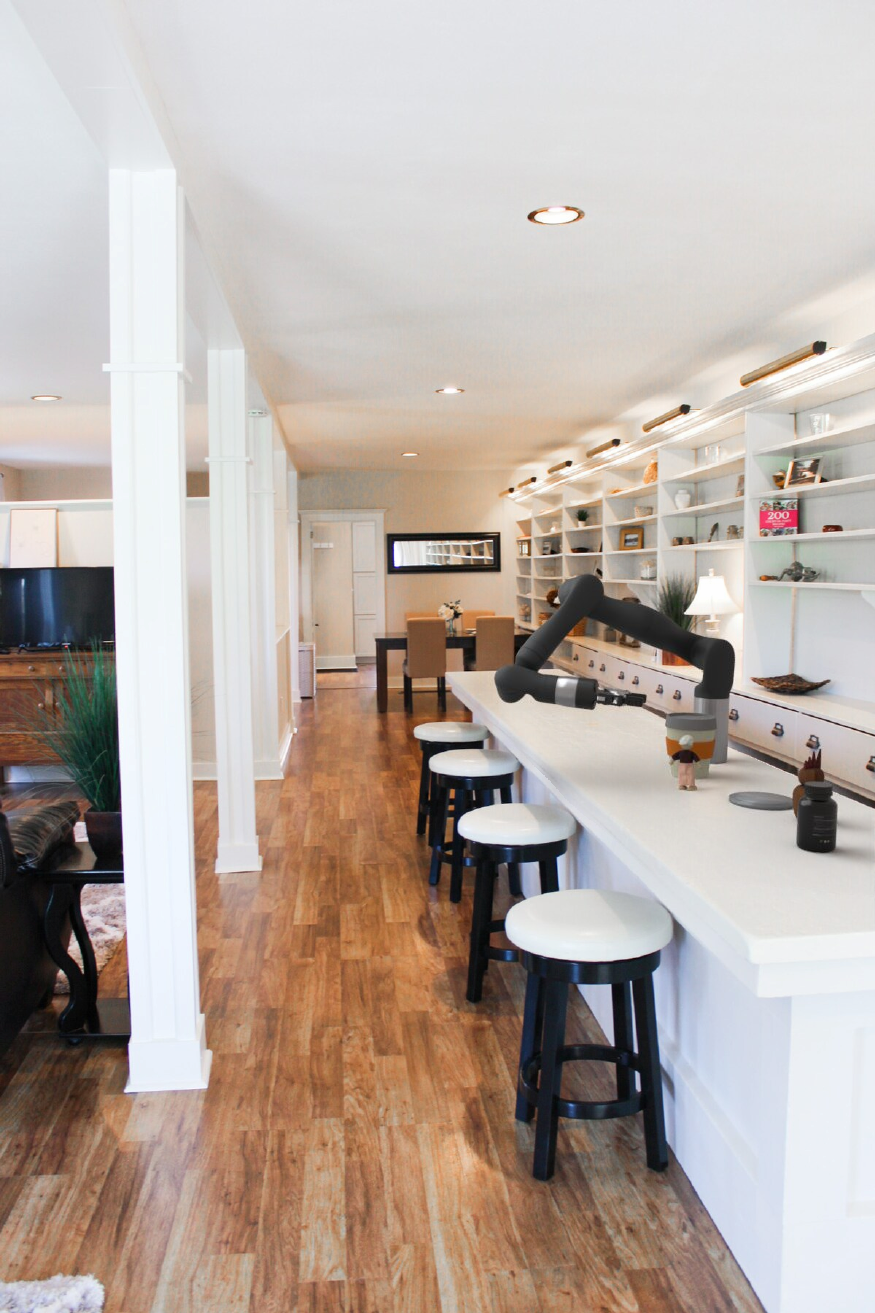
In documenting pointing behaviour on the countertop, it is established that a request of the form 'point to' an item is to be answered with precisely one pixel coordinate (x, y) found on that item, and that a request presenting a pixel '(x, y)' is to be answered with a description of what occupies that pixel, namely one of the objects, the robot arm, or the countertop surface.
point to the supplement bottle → (817, 818)
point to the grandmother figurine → (686, 763)
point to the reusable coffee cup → (702, 735)
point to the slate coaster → (761, 800)
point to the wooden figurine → (807, 777)
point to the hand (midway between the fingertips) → (644, 700)
